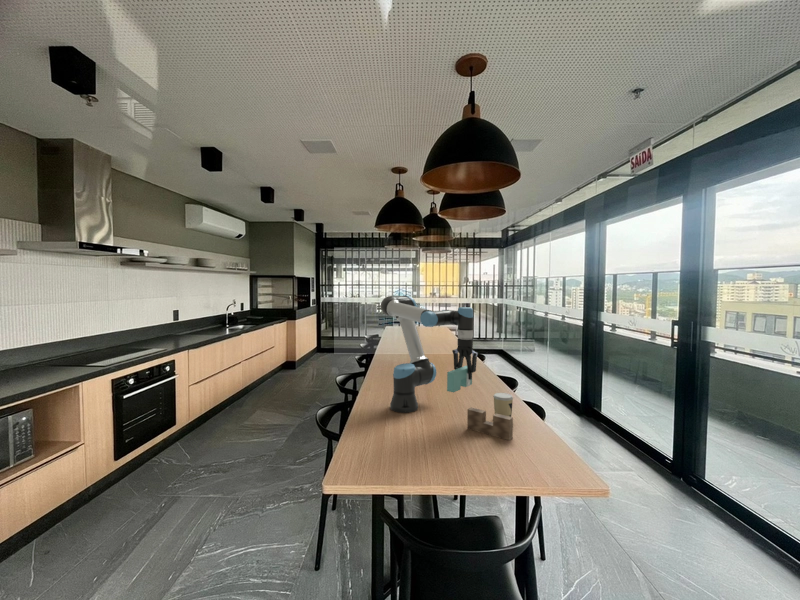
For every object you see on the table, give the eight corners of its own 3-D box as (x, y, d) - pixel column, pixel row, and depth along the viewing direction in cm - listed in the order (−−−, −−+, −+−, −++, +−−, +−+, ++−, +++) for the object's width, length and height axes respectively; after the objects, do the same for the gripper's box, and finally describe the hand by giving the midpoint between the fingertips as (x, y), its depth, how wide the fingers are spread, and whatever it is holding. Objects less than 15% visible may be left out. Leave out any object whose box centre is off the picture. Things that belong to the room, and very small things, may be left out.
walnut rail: (467, 428, 158) (467, 409, 157) (471, 426, 160) (471, 407, 160) (509, 440, 145) (509, 419, 145) (512, 437, 148) (512, 417, 147)
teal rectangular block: (447, 391, 161) (447, 372, 160) (465, 383, 174) (466, 365, 174) (453, 392, 158) (453, 373, 158) (471, 384, 172) (472, 366, 172)
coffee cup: (514, 423, 164) (514, 398, 163) (493, 421, 166) (494, 397, 165) (511, 416, 173) (511, 393, 173) (492, 415, 175) (492, 391, 174)
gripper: (446, 337, 171) (446, 383, 172) (476, 340, 161) (476, 389, 162) (454, 335, 177) (453, 380, 178) (484, 339, 166) (483, 386, 167)
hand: (464, 384), depth 170 cm, fingers closed on teal rectangular block, 3 cm apart
